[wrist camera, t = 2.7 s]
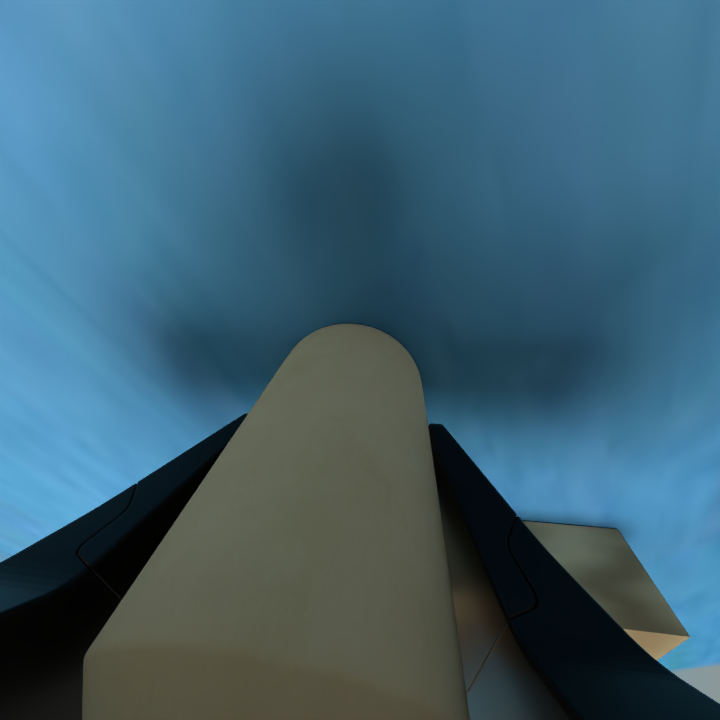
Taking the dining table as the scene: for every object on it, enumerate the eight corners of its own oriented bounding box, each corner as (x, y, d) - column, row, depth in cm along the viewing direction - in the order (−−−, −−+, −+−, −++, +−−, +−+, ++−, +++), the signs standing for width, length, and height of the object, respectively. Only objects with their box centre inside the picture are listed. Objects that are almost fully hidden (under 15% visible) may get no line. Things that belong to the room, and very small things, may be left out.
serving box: (617, 529, 14) (690, 637, 11) (529, 648, 22) (554, 731, 19) (303, 501, 16) (278, 587, 12) (326, 621, 24) (315, 693, 20)
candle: (451, 378, 11) (669, 1080, 2) (364, 453, 13) (308, 919, 5) (334, 289, 10) (-184, 1084, 1) (262, 390, 12) (-62, 862, 4)
